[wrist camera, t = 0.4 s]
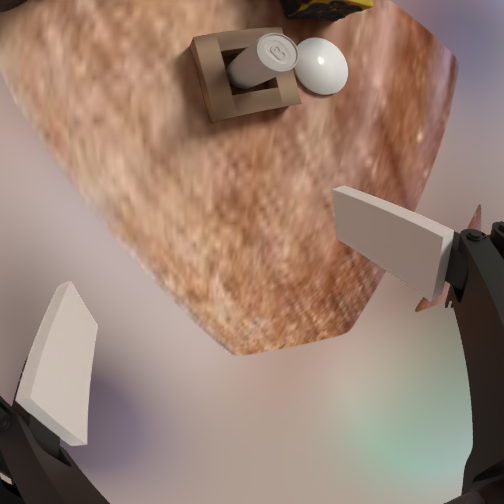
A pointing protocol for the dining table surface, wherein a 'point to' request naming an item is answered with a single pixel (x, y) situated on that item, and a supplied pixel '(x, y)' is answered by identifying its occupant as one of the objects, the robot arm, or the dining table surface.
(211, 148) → the dining table surface
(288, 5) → the candle
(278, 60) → the beverage can
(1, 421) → the robot arm
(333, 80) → the white round domed part
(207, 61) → the socket block
